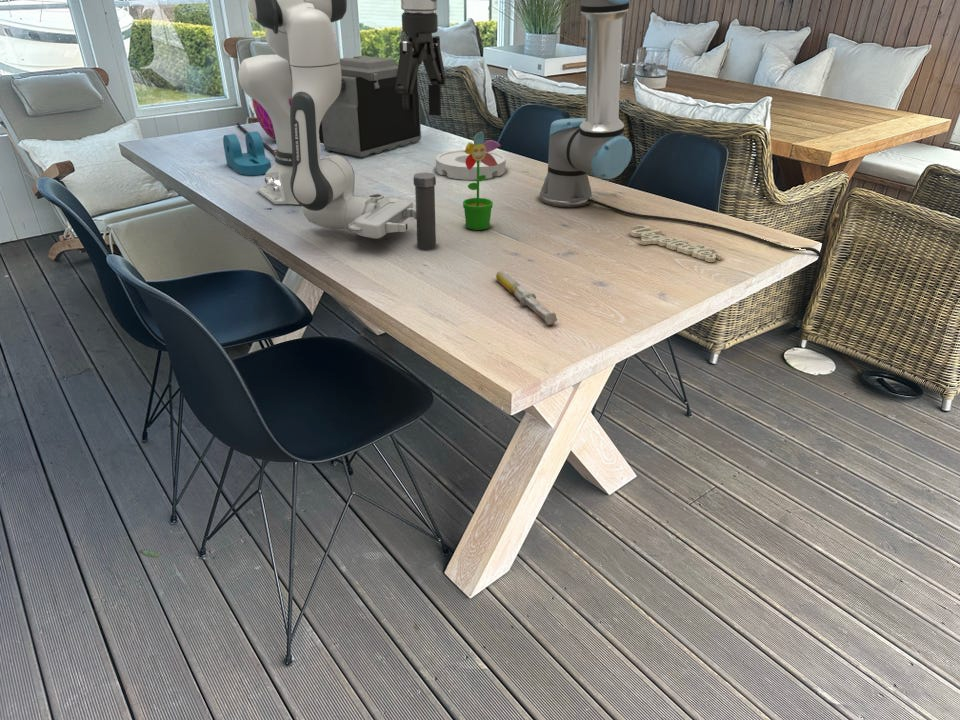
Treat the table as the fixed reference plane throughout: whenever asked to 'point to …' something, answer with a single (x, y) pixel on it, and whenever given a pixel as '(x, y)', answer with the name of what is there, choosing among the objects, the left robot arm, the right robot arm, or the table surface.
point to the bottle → (425, 217)
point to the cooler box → (368, 110)
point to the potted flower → (478, 207)
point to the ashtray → (457, 168)
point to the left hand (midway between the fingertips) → (414, 221)
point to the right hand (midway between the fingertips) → (422, 120)
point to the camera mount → (246, 154)
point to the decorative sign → (674, 243)
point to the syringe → (525, 297)
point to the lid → (424, 180)
